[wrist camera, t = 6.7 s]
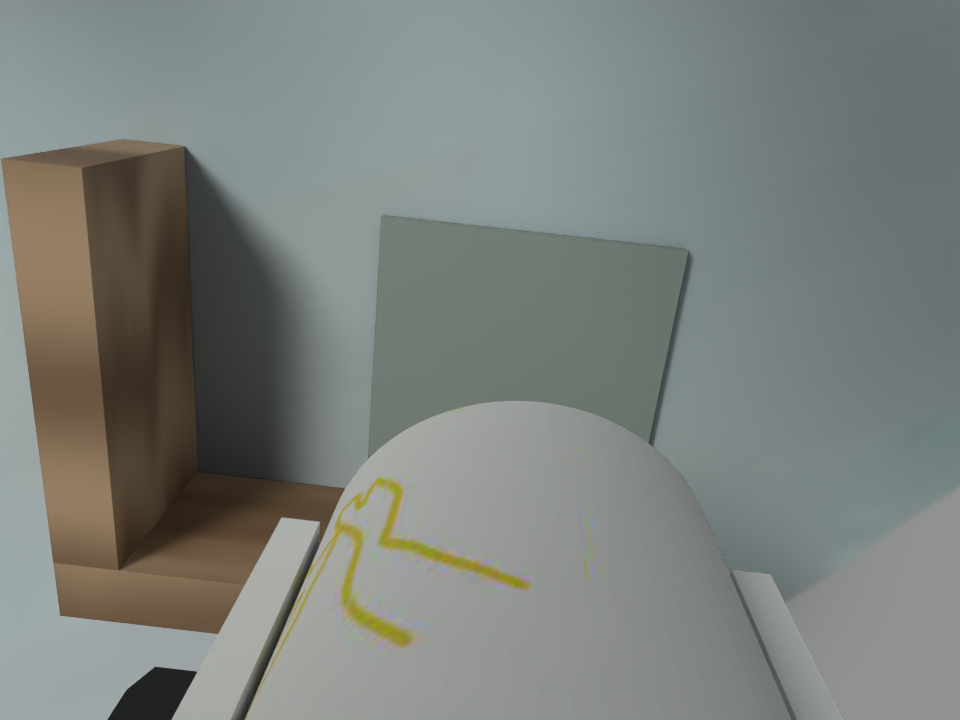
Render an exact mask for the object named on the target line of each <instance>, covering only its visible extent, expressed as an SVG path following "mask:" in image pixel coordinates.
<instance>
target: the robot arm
mask: <svg viewBox="0 0 960 720" xmlns="http://www.w3.org/2000/svg"><path fill="white" fill-rule="evenodd" d="M319 530H320V522H317V521H308V520H300V519H291V518H283V517H282V518H281V519H280V521H279V523H278V525H277V527H276V529H275V530H274V532H273V534H272V536H271V538H270V540H269V541H268V543H267V545H266V547H265V549H264V551H263V553H262V554H261V556H260V558H259V560H258V562H257V564H256V565H255V567H254V569H253V571H252V573H251V575H250V576H249V578H248V580H247V582H246V584H245V586H244V587H243V589H242V591H241V593H240V595H239V597H238V598H237V600H236V602H235V604H234V606H233V608H232V609H231V611H230V613H229V615H228V617H227V619H226V620H225V622H224V624H223V626H222V628H221V630H220V632H219V633H218V635H217V637H216V639H215V641H214V643H213V644H212V646H211V648H210V650H209V652H208V654H207V655H206V657H205V659H204V661H203V663H202V665H201V666H200V668H199V670H198V672H195V671H186V670H178V669H170V668H161V667H154V668H153V669H152V670H151V671H149V672H148V673H147V674H146V675H145V676H143V677H142V678H141V679H140V680H138V681H137V682H136V683H135V684H133V685H132V686H131V687H130V688H128V689H127V690H126V692H125V693H124V695H123V696H122V698H121V699H120V701H119V703H118V704H117V706H116V707H115V709H114V710H113V712H112V713H111V715H110V717H109V718H108V720H245V718H246V715H247V713H248V711H249V708H250V706H251V704H252V701H253V699H254V697H255V695H256V692H257V690H258V688H259V685H260V683H261V681H262V678H263V676H264V674H265V671H266V669H267V667H268V664H269V662H270V660H271V657H272V655H273V653H274V650H275V648H276V646H277V643H278V641H279V639H280V636H281V634H282V632H283V629H284V627H285V625H286V622H287V620H288V618H289V615H290V613H291V611H292V608H293V606H294V604H295V601H296V599H297V597H298V594H299V592H300V590H301V587H302V585H303V583H304V581H305V578H306V576H307V574H308V571H309V569H310V567H311V564H312V562H313V560H314V557H315V555H316V553H317V550H318V548H319ZM730 576H731V578H732V581H733V583H734V585H735V588H736V590H737V593H738V595H739V597H740V600H741V602H742V604H743V607H744V609H745V611H746V614H747V616H748V618H749V621H750V623H751V625H752V628H753V630H754V632H755V635H756V637H757V640H758V642H759V644H760V647H761V649H762V651H763V654H764V656H765V658H766V661H767V663H768V665H769V668H770V670H771V672H772V675H773V677H774V680H775V682H776V684H777V687H778V689H779V691H780V694H781V696H782V698H783V701H784V703H785V705H786V708H787V710H788V712H789V715H790V717H791V719H792V720H844V718H843V716H842V714H841V712H840V710H839V708H838V706H837V704H836V702H835V700H834V698H833V696H832V694H831V692H830V691H829V689H828V687H827V685H826V683H825V681H824V679H823V677H822V675H821V673H820V671H819V669H818V667H817V665H816V663H815V661H814V659H813V657H812V655H811V653H810V651H809V649H808V647H807V645H806V643H805V641H804V639H803V638H802V635H801V633H800V631H799V630H798V627H797V626H796V624H795V622H794V620H793V618H792V616H791V614H790V612H789V610H788V608H787V606H786V604H785V602H784V600H783V598H782V596H781V594H780V592H779V590H778V588H777V586H776V584H775V582H774V580H773V578H772V576H771V574H764V573H755V572H746V571H738V570H732V571H731V575H730Z"/></svg>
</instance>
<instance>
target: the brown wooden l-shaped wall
mask: <svg viewBox="0 0 960 720" xmlns="http://www.w3.org/2000/svg"><path fill="white" fill-rule="evenodd" d="M1 162H2V170H3V178H4V186H5V193H6V201H7V209H8V216H9V224H10V232H11V240H12V247H13V255H14V263H15V270H16V278H17V286H18V293H19V301H20V309H21V317H22V324H23V332H24V340H25V347H26V355H27V363H28V371H29V378H30V386H31V394H32V401H33V409H34V417H35V425H36V432H37V440H38V448H39V455H40V463H41V471H42V478H43V486H44V494H45V502H46V509H47V517H48V525H49V532H50V540H51V548H52V556H53V563H54V571H55V579H56V586H57V594H58V602H59V610H60V616H69V617H77V618H86V619H94V620H103V621H112V622H120V623H129V624H137V625H146V626H154V627H163V628H172V629H180V630H189V631H197V632H206V633H215V634H218V633H219V632H220V630H221V628H222V626H223V624H224V622H225V620H226V619H227V617H228V615H229V613H230V611H231V609H232V608H233V606H234V604H235V602H236V600H237V598H238V597H239V595H240V593H241V591H242V589H243V587H244V586H245V584H246V582H247V580H248V578H249V576H250V575H251V573H252V571H253V569H254V567H255V565H256V564H257V562H258V560H259V558H260V556H261V554H262V553H263V551H264V549H265V547H266V545H267V543H268V541H269V540H270V538H271V536H272V534H273V532H274V530H275V529H276V527H277V525H278V523H279V521H280V519H281V518H282V517H283V518H291V519H300V520H308V521H317V522H320V530H319V546H320V543H321V541H322V539H323V536H324V534H325V532H326V529H327V527H328V525H329V522H330V520H331V518H332V515H333V513H334V511H335V508H336V506H337V504H338V502H339V500H340V498H341V496H342V494H343V492H344V490H345V489H343V488H335V487H326V486H317V485H308V484H300V483H291V482H282V481H274V480H265V479H256V478H247V477H239V476H230V475H221V474H212V473H204V472H198V457H197V433H196V409H195V385H194V361H193V337H192V313H191V289H190V265H189V241H188V217H187V193H186V169H185V146H178V145H169V144H160V143H151V142H142V141H133V140H124V139H122V140H116V141H110V142H103V143H97V144H91V145H85V146H78V147H72V148H66V149H60V150H53V151H47V152H41V153H35V154H28V155H22V156H16V157H10V158H4V159H1Z"/></svg>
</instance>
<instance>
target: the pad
mask: <svg viewBox="0 0 960 720" xmlns="http://www.w3.org/2000/svg"><path fill="white" fill-rule="evenodd" d="M687 256H688V250H687V249H682V248H673V247H664V246H655V245H646V244H637V243H628V242H619V241H610V240H601V239H592V238H583V237H574V236H565V235H556V234H547V233H538V232H529V231H520V230H511V229H502V228H493V227H484V226H475V225H466V224H457V223H448V222H439V221H431V220H422V219H413V218H404V217H395V216H386V215H383V216H382V217H381V231H380V249H379V268H378V287H377V305H376V324H375V343H374V361H373V380H372V399H371V417H370V436H369V455H368V459H369V458H370V457H371V456H372V455H373V454H374V453H375V452H376V451H377V450H378V449H380V448H381V447H382V446H383V445H385V444H386V443H387V442H388V441H390V440H391V439H392V438H394V437H395V436H397V435H398V434H400V433H402V432H403V431H405V430H406V429H408V428H410V427H412V426H414V425H416V424H417V423H419V422H422V421H424V420H426V419H428V418H431V417H433V416H436V415H439V414H441V413H444V412H447V411H450V410H454V409H458V408H461V407H465V406H470V405H475V404H481V403H489V402H499V401H533V402H544V403H551V404H557V405H563V406H567V407H571V408H575V409H579V410H582V411H585V412H589V413H592V414H595V415H597V416H600V417H602V418H605V419H607V420H610V421H612V422H614V423H616V424H618V425H620V426H622V427H624V428H625V429H627V430H629V431H630V432H632V433H634V434H635V435H637V436H639V437H640V438H641V439H643V440H644V441H646V442H647V443H649V438H650V434H651V429H652V424H653V419H654V414H655V410H656V405H657V400H658V395H659V390H660V386H661V381H662V376H663V371H664V366H665V362H666V357H667V352H668V347H669V342H670V338H671V333H672V328H673V323H674V318H675V314H676V309H677V304H678V299H679V294H680V289H681V285H682V280H683V275H684V270H685V265H686V261H687Z"/></svg>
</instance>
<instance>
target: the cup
mask: <svg viewBox="0 0 960 720" xmlns="http://www.w3.org/2000/svg"><path fill="white" fill-rule="evenodd" d="M245 720H792V719H791V717H790V715H789V712H788V710H787V708H786V705H785V703H784V701H783V698H782V696H781V694H780V691H779V689H778V687H777V684H776V682H775V680H774V677H773V675H772V672H771V670H770V668H769V665H768V663H767V661H766V658H765V656H764V654H763V651H762V649H761V647H760V644H759V642H758V640H757V637H756V635H755V632H754V630H753V628H752V625H751V623H750V621H749V618H748V616H747V614H746V611H745V609H744V607H743V604H742V602H741V600H740V597H739V595H738V593H737V590H736V588H735V585H734V583H733V581H732V578H731V576H730V574H729V571H728V569H727V567H726V564H725V562H724V560H723V557H722V555H721V553H720V550H719V548H718V545H717V543H716V541H715V538H714V536H713V534H712V531H711V529H710V527H709V524H708V522H707V520H706V517H705V515H704V513H703V510H702V508H701V506H700V504H699V502H698V500H697V498H696V496H695V495H694V493H693V491H692V490H691V488H690V487H689V485H688V484H687V482H686V481H685V479H684V478H683V477H682V475H681V474H680V473H679V472H678V471H677V470H676V468H675V467H674V466H673V465H672V464H671V463H670V462H669V461H668V460H667V459H666V458H665V457H664V456H663V455H662V454H661V453H660V452H658V451H657V450H656V449H655V448H654V447H652V446H651V445H650V444H649V443H647V442H646V441H644V440H643V439H641V438H640V437H639V436H637V435H635V434H634V433H632V432H630V431H629V430H627V429H625V428H624V427H622V426H620V425H618V424H616V423H614V422H612V421H610V420H607V419H605V418H602V417H600V416H597V415H595V414H592V413H589V412H585V411H582V410H579V409H575V408H571V407H567V406H563V405H557V404H551V403H544V402H533V401H499V402H489V403H481V404H475V405H470V406H465V407H461V408H458V409H454V410H450V411H447V412H444V413H441V414H439V415H436V416H433V417H431V418H428V419H426V420H424V421H422V422H419V423H417V424H416V425H414V426H412V427H410V428H408V429H406V430H405V431H403V432H402V433H400V434H398V435H397V436H395V437H394V438H392V439H391V440H390V441H388V442H387V443H386V444H385V445H383V446H382V447H381V448H380V449H378V450H377V451H376V452H375V453H374V454H373V455H372V456H371V457H370V458H369V459H368V460H367V461H366V462H365V463H364V464H363V465H362V466H361V467H360V469H359V470H358V471H357V473H356V474H355V475H354V476H353V478H352V479H351V481H350V482H349V484H348V485H347V487H346V489H345V490H344V492H343V494H342V496H341V498H340V500H339V502H338V504H337V506H336V508H335V511H334V513H333V515H332V518H331V520H330V522H329V525H328V527H327V529H326V532H325V534H324V536H323V539H322V541H321V543H320V546H319V548H318V550H317V553H316V555H315V557H314V560H313V562H312V564H311V567H310V569H309V571H308V574H307V576H306V578H305V581H304V583H303V585H302V587H301V590H300V592H299V594H298V597H297V599H296V601H295V604H294V606H293V608H292V611H291V613H290V615H289V618H288V620H287V622H286V625H285V627H284V629H283V632H282V634H281V636H280V639H279V641H278V643H277V646H276V648H275V650H274V653H273V655H272V657H271V660H270V662H269V664H268V667H267V669H266V671H265V674H264V676H263V678H262V681H261V683H260V685H259V688H258V690H257V692H256V695H255V697H254V699H253V701H252V704H251V706H250V708H249V711H248V713H247V715H246V718H245Z"/></svg>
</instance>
